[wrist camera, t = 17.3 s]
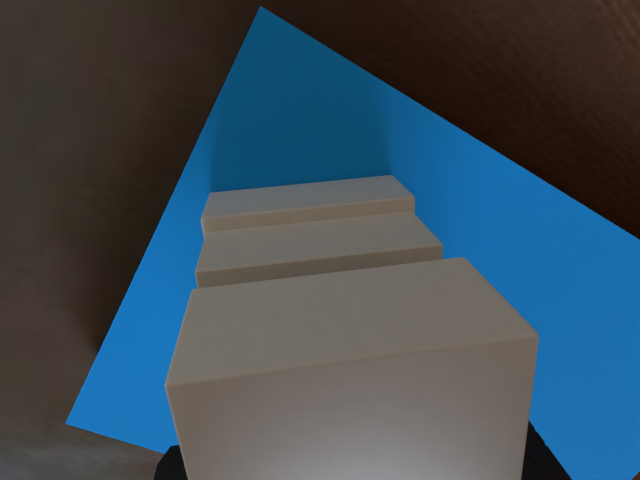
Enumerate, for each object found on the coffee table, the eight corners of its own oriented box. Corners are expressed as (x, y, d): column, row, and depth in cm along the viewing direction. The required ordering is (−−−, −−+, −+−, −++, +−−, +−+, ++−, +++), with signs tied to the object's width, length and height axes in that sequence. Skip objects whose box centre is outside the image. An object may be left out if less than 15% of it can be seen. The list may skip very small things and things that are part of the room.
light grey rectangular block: (209, 191, 15) (186, 256, 10) (392, 174, 15) (448, 227, 11) (248, 430, 19) (245, 554, 14) (394, 410, 19) (436, 523, 15)
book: (252, 0, 13) (794, 325, 20) (256, 13, 17) (706, 279, 24) (56, 439, 18) (546, 583, 24) (95, 368, 22) (506, 508, 28)
